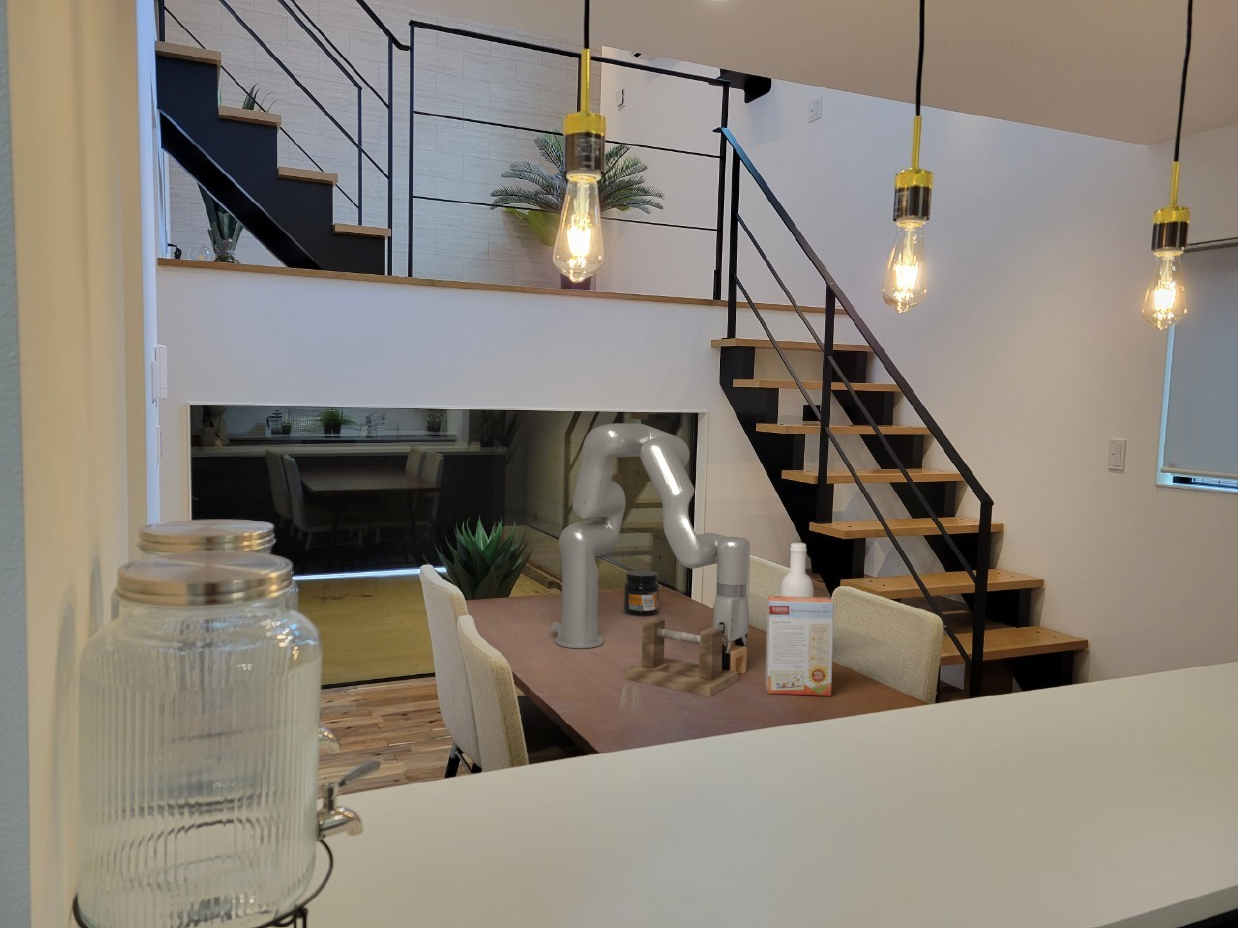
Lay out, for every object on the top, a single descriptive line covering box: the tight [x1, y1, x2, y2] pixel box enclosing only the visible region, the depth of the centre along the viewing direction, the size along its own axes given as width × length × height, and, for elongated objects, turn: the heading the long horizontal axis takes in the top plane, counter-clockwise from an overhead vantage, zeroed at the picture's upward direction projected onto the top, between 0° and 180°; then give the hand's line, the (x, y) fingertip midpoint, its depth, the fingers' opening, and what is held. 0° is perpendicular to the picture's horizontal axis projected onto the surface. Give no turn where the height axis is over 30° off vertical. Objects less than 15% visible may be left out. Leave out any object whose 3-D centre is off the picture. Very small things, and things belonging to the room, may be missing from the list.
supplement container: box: [623, 569, 660, 617], centre depth 274 cm, size 10×10×12 cm
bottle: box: [780, 542, 814, 597], centre depth 220 cm, size 8×8×30 cm
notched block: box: [724, 643, 748, 674], centre depth 214 cm, size 5×7×6 cm
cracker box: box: [765, 595, 835, 697], centre depth 201 cm, size 14×6×21 cm, turn 86°
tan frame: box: [623, 617, 739, 698], centre depth 208 cm, size 22×14×12 cm, turn 57°
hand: (731, 664), depth 214 cm, fingers closed on notched block, 6 cm apart
